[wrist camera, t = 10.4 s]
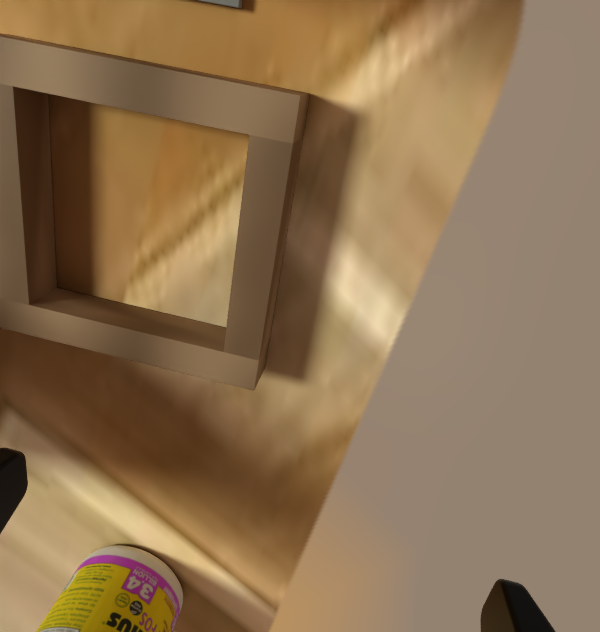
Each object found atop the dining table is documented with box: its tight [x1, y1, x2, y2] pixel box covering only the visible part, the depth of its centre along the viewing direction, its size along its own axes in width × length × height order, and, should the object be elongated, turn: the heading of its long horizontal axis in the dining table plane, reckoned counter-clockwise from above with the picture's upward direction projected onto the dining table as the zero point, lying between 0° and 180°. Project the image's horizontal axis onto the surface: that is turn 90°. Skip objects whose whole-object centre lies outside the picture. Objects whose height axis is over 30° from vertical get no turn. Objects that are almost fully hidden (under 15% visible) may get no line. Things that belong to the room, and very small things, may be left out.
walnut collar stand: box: [0, 34, 310, 390], centre depth 20 cm, size 12×12×2 cm
